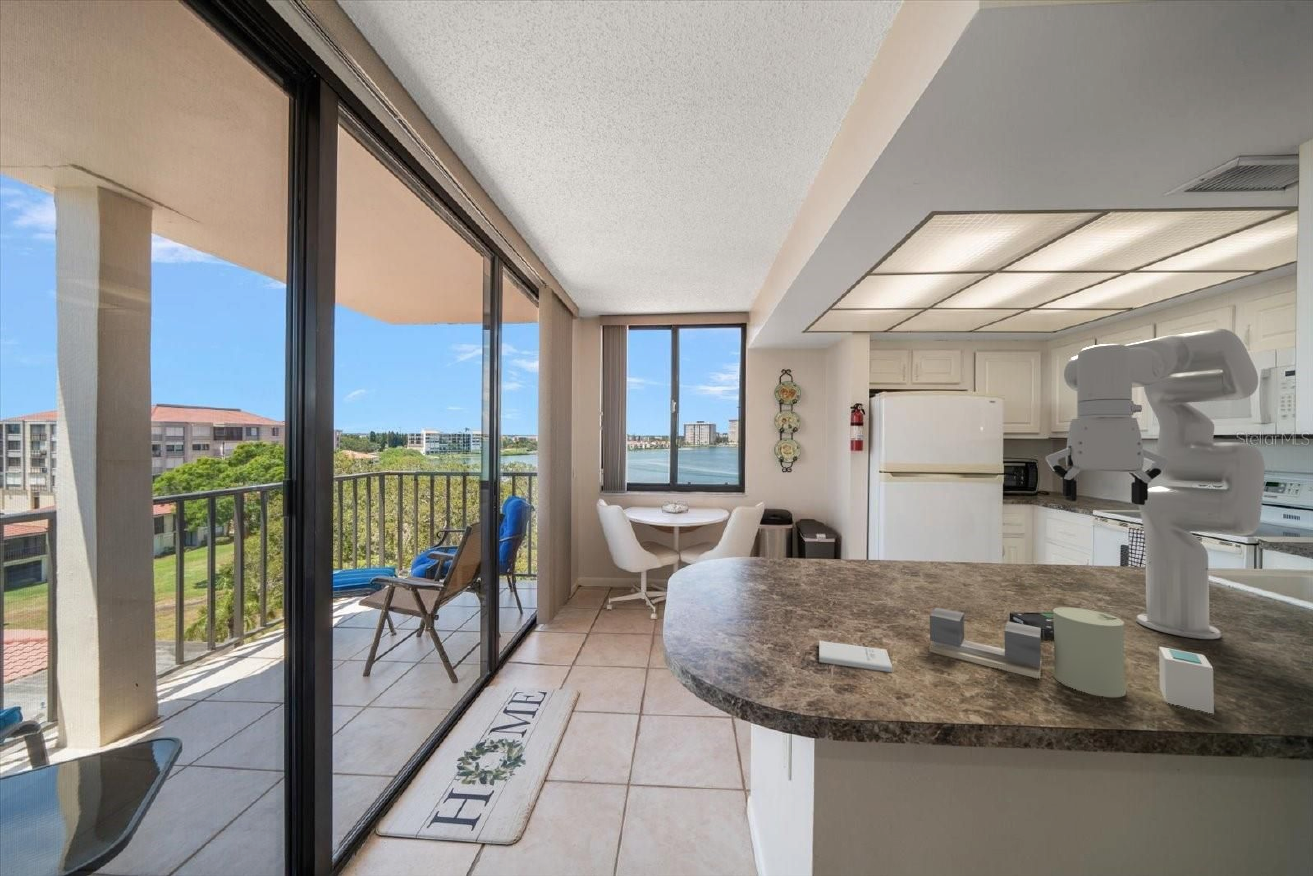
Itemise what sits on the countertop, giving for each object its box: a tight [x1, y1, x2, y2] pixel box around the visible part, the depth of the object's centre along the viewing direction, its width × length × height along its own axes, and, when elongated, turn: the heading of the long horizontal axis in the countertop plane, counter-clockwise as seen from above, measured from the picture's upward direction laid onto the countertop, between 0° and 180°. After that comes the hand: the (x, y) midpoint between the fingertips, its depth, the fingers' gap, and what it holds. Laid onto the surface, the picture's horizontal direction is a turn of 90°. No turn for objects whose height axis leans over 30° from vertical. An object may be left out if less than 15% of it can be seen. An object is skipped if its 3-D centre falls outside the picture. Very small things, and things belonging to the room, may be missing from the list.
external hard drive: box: [818, 640, 893, 673], centre depth 91 cm, size 2×8×12 cm
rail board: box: [929, 607, 1042, 680], centre depth 91 cm, size 7×17×7 cm, turn 50°
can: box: [1052, 606, 1127, 699], centre depth 81 cm, size 9×9×12 cm
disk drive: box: [1009, 611, 1054, 640], centre depth 105 cm, size 10×3×15 cm
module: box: [1158, 646, 1215, 715], centre depth 76 cm, size 6×5×7 cm
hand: (1103, 502), depth 89 cm, fingers open, 9 cm apart
